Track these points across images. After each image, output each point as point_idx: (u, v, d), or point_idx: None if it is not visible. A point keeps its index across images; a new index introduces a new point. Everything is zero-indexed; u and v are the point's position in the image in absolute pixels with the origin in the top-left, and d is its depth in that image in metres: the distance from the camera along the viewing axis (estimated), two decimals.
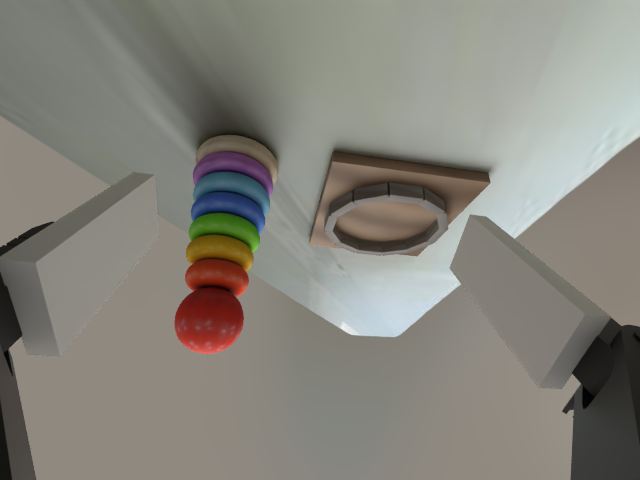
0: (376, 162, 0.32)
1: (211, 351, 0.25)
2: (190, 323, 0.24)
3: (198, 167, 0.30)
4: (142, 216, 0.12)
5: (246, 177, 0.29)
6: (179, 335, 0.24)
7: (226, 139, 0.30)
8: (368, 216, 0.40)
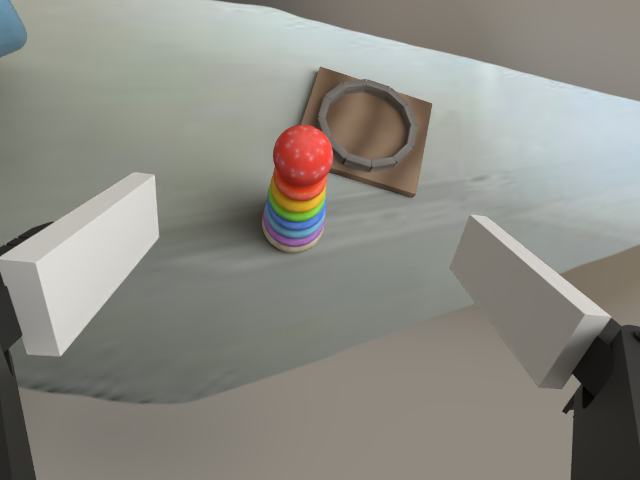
0: None
1: (303, 132, 0.26)
2: (275, 152, 0.27)
3: (269, 232, 0.40)
4: (142, 216, 0.12)
5: None
6: (287, 160, 0.26)
7: (262, 218, 0.42)
8: (361, 138, 0.48)
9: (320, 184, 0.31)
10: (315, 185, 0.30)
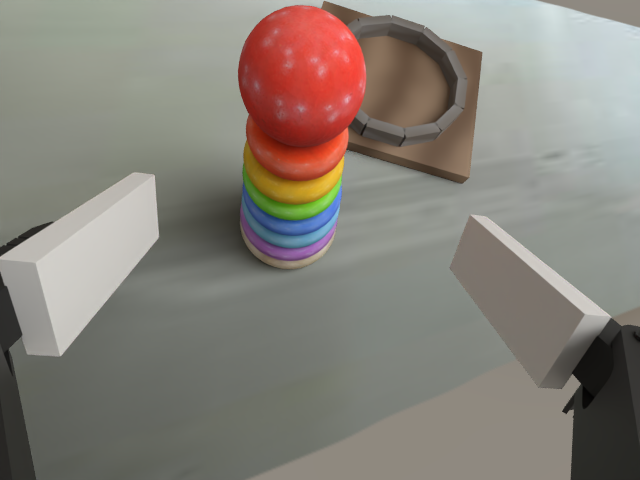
0: None
1: (302, 12, 0.11)
2: (240, 66, 0.12)
3: (250, 238, 0.25)
4: (142, 216, 0.12)
5: None
6: (266, 79, 0.11)
7: None
8: (386, 99, 0.33)
9: (336, 147, 0.16)
10: (327, 148, 0.16)
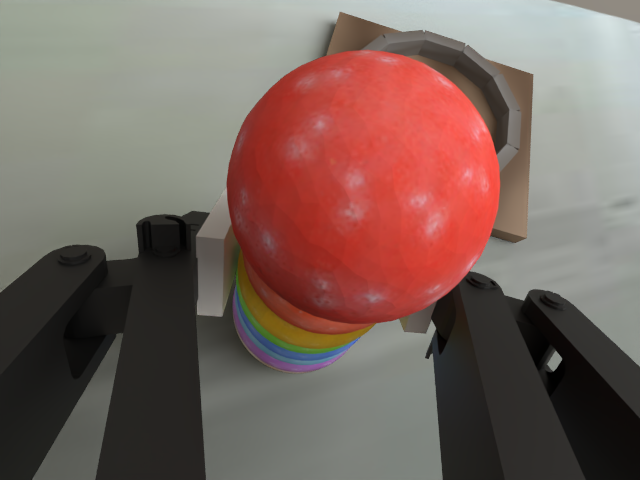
0: None
1: (383, 75, 0.05)
2: (232, 182, 0.06)
3: (246, 342, 0.18)
4: None
5: None
6: (293, 235, 0.05)
7: None
8: None
9: None
10: None
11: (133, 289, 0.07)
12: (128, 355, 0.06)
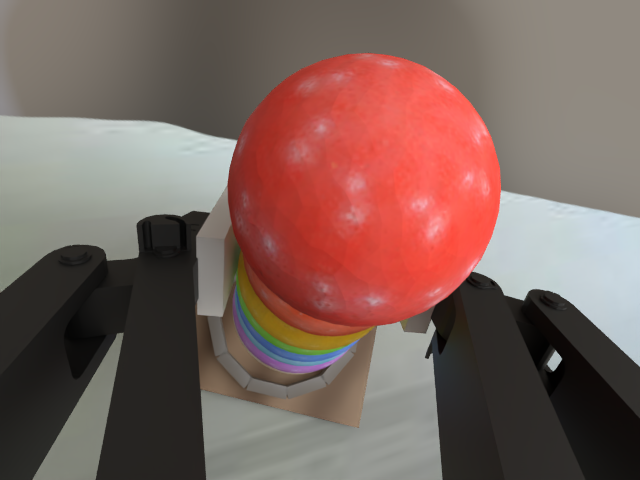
0: None
1: (385, 79, 0.05)
2: (232, 185, 0.06)
3: (246, 343, 0.18)
4: None
5: None
6: (294, 238, 0.05)
7: None
8: None
9: None
10: None
11: (133, 289, 0.07)
12: (128, 355, 0.06)
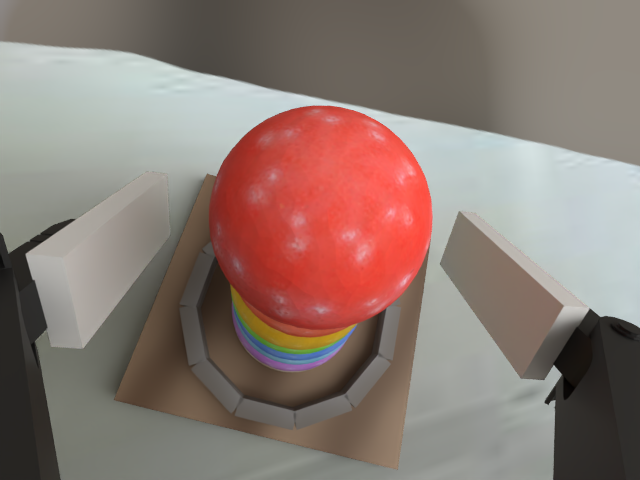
0: None
1: (325, 134, 0.06)
2: (210, 215, 0.07)
3: (244, 343, 0.19)
4: (156, 214, 0.12)
5: None
6: (254, 261, 0.06)
7: None
8: None
9: None
10: None
11: None
12: None
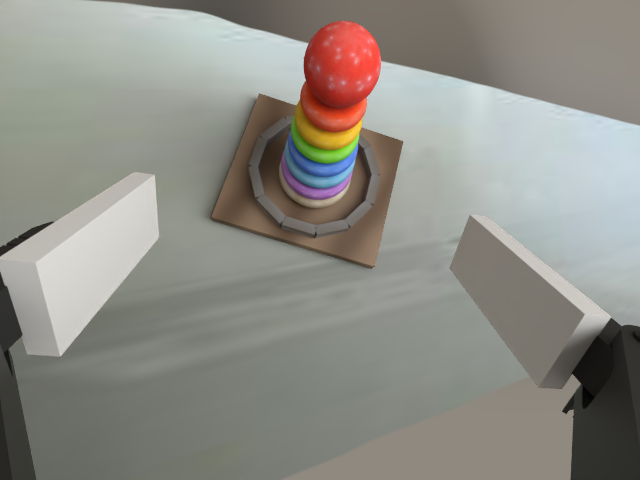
0: None
1: (346, 26, 0.20)
2: (307, 56, 0.21)
3: (288, 181, 0.34)
4: (142, 216, 0.12)
5: None
6: (324, 64, 0.20)
7: (279, 167, 0.36)
8: None
9: (359, 110, 0.24)
10: (353, 110, 0.24)
11: None
12: None
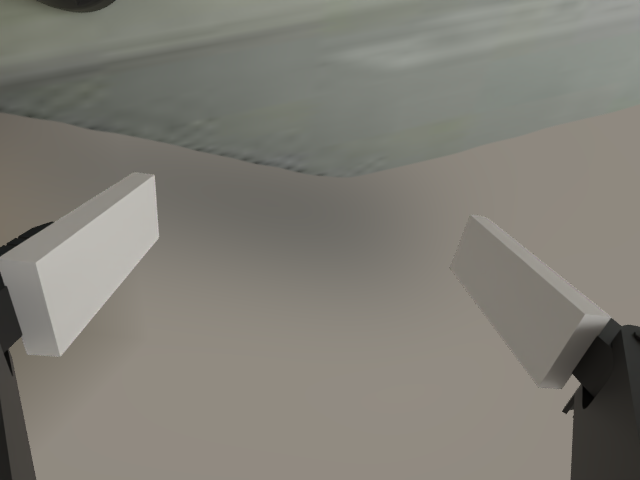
0: None
1: None
2: None
3: None
4: (142, 216, 0.12)
5: None
6: None
7: None
8: None
9: None
10: None
11: None
12: None
